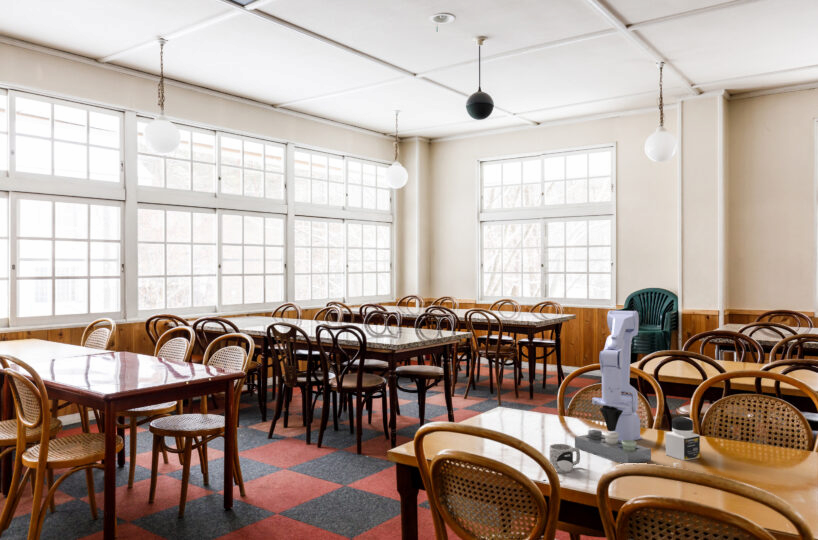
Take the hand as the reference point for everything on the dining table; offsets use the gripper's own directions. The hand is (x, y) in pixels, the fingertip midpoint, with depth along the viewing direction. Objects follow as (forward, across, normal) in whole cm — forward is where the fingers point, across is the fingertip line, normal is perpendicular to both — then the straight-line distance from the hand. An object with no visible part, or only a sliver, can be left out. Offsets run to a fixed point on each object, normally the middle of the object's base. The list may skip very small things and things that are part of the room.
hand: (611, 430), depth 200 cm
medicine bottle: (+8, +13, +17) cm, 23 cm away
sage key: (+6, +7, 0) cm, 9 cm away
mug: (+8, +4, -23) cm, 25 cm away
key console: (+7, 0, 0) cm, 7 cm away
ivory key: (+5, 0, 0) cm, 5 cm away
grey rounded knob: (+6, -7, 0) cm, 9 cm away
